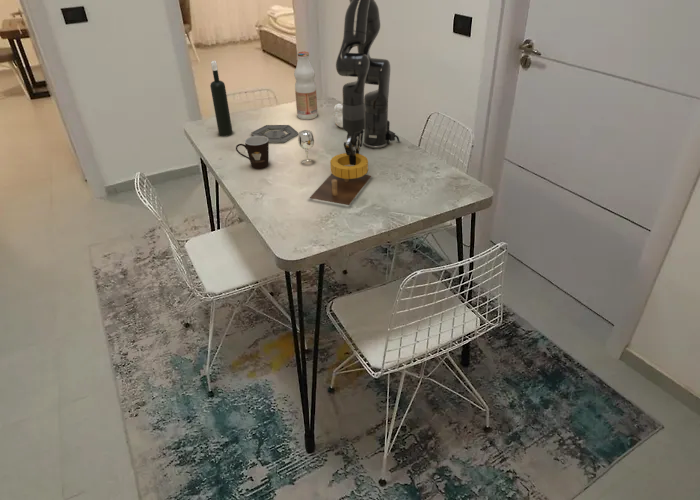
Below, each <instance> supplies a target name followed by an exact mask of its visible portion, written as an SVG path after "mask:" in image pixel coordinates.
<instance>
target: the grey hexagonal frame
mask: <svg viewBox="0 0 700 500" xmlns="http://www.w3.org/2000/svg"><path fill="white" fill-rule="evenodd" d="M284 131H285V132H286V133H287V134H286V133H285V132H284ZM250 135H251V137H253V136H265V137H267V138H268V139H269V144H282V143H283V144H284V143H286V142H287V141H289V140H291V139H293V138H295V137H296V136H299V132H298V131H297V129H296V130H295V128H294V127H292V126H291V125H290V124H266V125H264V126H261V127H259V128H257V129H256V130H254V131H252V132H250Z"/></svg>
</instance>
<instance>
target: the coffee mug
mask: <svg viewBox="0 0 700 500" xmlns="http://www.w3.org/2000/svg"><path fill="white" fill-rule="evenodd" d="M269 144H270V143H269V139H268V138H267V137H266V136H265V135H262V136H250V137H247V138H245V140H244V143H238V144H237V145H236V146H235V151H236V153H238V154H239V155H240V156H241V157H244V158H246V159H247V160H249V162H250V166H251V168H252V169H254V170H264V169H266V168H268V167H269V162H270V161H269V159H270V158H269V151H270V149H269ZM240 146H242V147H244V148H245V150H246V151H247V155H248V156H247V155H245V154H243V153H242V152H240V151H239V150H238V147H240Z"/></svg>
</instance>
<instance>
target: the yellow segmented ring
mask: <svg viewBox="0 0 700 500" xmlns="http://www.w3.org/2000/svg"><path fill="white" fill-rule="evenodd" d="M329 164H330V173H331V174H333V175H334V176H336V177H339V178H343V179H354V178H359V177H362V176H364V175H367V174H368V171H369V160H368V158H367V156H365V155H363V154H361V153H359V154H356V164H355V165H351V164H350V161H349V155H346V152H343V153H339V154H336V155H335V156H333V157H331V159H330V160H329Z"/></svg>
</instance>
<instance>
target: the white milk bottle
mask: <svg viewBox="0 0 700 500" xmlns="http://www.w3.org/2000/svg"><path fill="white" fill-rule="evenodd" d="M309 57H310V52H309V51H298V52H297V58H298V59H297V63H296V67H295V69H294V70H293V71H294V72H293V76H294V80H295V83H294V92H295V106H296V115H297V117H298V118H299V119H301V120H312V119H315V118H317V117H318V99H317V98H318V97H317V96H318V95H317V84H316V82H315V77H316V72H315V69H314V68H313V65H312V63H311V60H310V58H309Z"/></svg>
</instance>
